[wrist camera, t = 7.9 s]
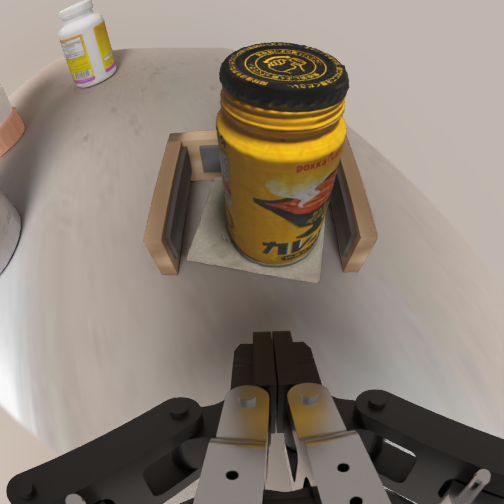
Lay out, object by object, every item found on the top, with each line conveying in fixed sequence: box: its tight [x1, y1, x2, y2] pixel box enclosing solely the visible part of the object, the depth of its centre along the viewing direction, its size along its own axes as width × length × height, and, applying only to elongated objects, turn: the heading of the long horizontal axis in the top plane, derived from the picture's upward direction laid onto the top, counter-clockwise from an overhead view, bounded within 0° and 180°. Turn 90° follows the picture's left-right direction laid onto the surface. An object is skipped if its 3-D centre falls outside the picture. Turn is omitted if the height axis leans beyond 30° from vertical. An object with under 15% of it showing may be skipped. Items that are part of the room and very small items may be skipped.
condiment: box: [186, 42, 349, 283], centre depth 16 cm, size 7×8×12 cm
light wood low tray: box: [143, 130, 378, 275], centre depth 20 cm, size 12×9×4 cm
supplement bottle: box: [58, 0, 116, 88], centre depth 30 cm, size 7×7×13 cm
